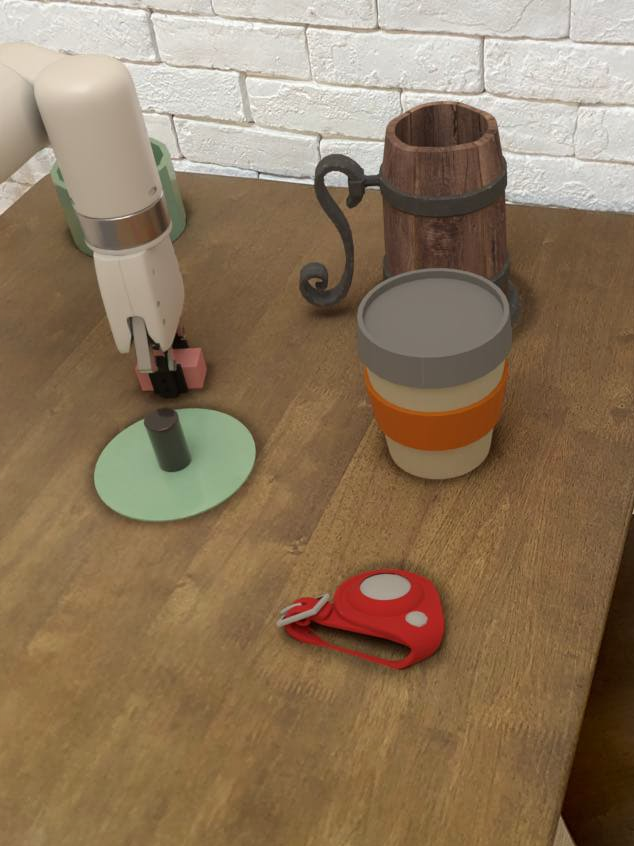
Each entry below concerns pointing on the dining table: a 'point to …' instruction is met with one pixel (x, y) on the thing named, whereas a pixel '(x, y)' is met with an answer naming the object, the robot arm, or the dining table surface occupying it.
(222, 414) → the lid
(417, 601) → the tracker holder
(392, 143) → the tankard
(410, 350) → the reusable coffee cup
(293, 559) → the dining table surface
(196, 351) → the eraser
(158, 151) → the pot
